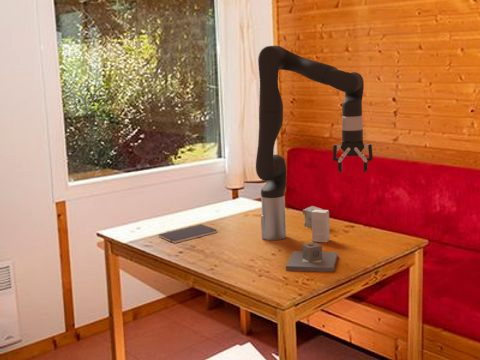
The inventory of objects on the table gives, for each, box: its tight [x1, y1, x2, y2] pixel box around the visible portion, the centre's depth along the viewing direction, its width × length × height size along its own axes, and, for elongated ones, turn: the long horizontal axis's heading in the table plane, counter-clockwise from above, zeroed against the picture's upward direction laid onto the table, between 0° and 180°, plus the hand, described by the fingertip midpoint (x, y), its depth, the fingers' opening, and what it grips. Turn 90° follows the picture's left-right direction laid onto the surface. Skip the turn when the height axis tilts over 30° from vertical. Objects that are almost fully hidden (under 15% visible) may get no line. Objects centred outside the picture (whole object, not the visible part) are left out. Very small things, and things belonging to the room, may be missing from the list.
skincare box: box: [311, 209, 331, 243], centre depth 234 cm, size 6×4×12 cm
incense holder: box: [302, 205, 324, 228], centre depth 254 cm, size 8×6×8 cm
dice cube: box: [301, 241, 323, 262], centre depth 210 cm, size 5×5×5 cm
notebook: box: [158, 224, 218, 244], centre depth 253 cm, size 13×2×21 cm
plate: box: [285, 250, 339, 273], centre depth 210 cm, size 16×16×2 cm
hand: (352, 172), depth 221 cm, fingers open, 8 cm apart
